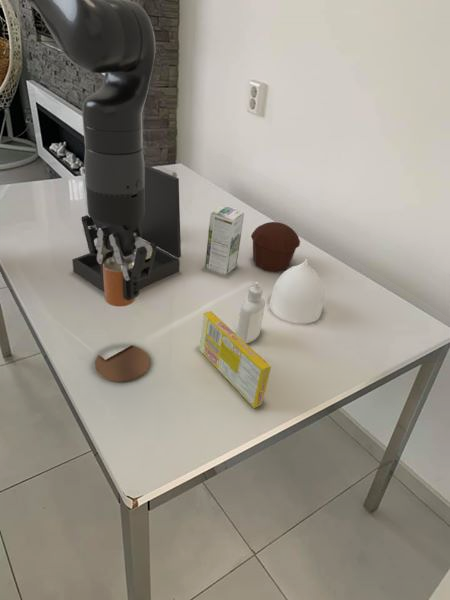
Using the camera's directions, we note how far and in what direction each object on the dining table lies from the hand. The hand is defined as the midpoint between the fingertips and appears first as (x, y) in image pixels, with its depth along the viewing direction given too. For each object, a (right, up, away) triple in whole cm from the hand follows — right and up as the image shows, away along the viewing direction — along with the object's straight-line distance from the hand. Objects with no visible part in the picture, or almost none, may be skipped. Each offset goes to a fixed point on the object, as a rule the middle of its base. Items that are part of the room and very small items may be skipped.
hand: (119, 290), depth 68 cm
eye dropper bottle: (+20, -8, +18) cm, 29 cm away
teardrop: (+31, -3, +27) cm, 41 cm away
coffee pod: (0, -1, +1) cm, 1 cm away
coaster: (-1, -12, +8) cm, 15 cm away
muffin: (+27, +8, +43) cm, 51 cm away
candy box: (+17, -14, +9) cm, 24 cm away
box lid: (0, +18, +29) cm, 34 cm away
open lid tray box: (-6, +4, +32) cm, 33 cm away
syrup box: (+15, +6, +38) cm, 41 cm away
